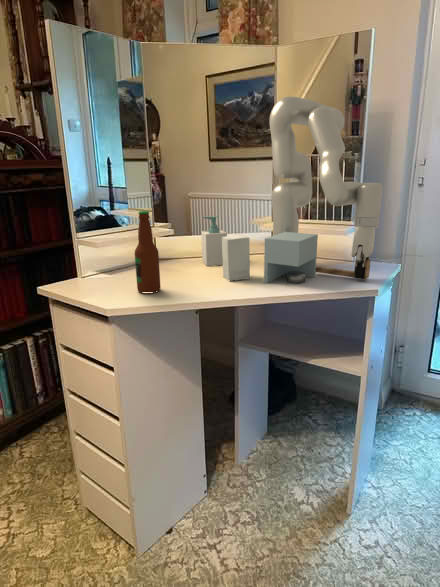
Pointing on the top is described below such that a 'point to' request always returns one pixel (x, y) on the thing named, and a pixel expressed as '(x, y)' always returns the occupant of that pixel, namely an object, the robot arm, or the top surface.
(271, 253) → the cabinet
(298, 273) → the puck
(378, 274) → the top surface
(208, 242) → the soap bottle
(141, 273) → the bottle
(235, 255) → the skincare box
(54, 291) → the top surface
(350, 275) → the brown piece
